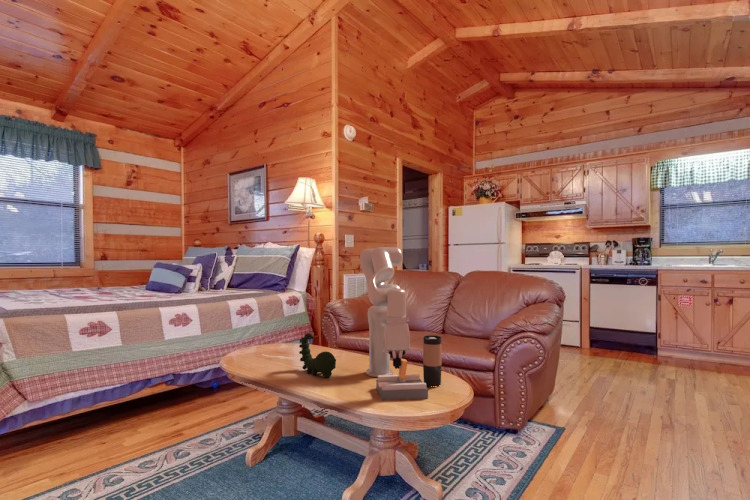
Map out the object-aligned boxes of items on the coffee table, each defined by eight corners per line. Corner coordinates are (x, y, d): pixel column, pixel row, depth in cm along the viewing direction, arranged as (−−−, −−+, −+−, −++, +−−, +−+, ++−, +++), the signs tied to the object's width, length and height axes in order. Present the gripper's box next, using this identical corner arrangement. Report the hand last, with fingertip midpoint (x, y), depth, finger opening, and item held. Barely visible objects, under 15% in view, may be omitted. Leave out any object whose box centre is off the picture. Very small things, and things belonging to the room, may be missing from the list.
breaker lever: (396, 381, 160) (400, 358, 160) (402, 382, 160) (405, 359, 161) (398, 384, 156) (402, 361, 156) (404, 385, 156) (408, 361, 156)
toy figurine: (295, 374, 187) (328, 381, 170) (293, 333, 189) (326, 336, 171) (311, 370, 194) (345, 377, 176) (310, 331, 195) (343, 333, 178)
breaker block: (376, 388, 164) (376, 375, 164) (419, 386, 166) (419, 373, 166) (381, 400, 150) (381, 386, 150) (428, 398, 152) (428, 384, 152)
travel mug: (439, 381, 173) (439, 335, 173) (443, 387, 165) (443, 338, 165) (421, 381, 172) (422, 335, 173) (424, 387, 165) (424, 338, 165)
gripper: (413, 319, 162) (413, 365, 161) (376, 319, 160) (377, 366, 160) (417, 321, 155) (417, 369, 154) (379, 322, 153) (379, 370, 152)
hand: (397, 367), depth 157 cm, fingers closed
